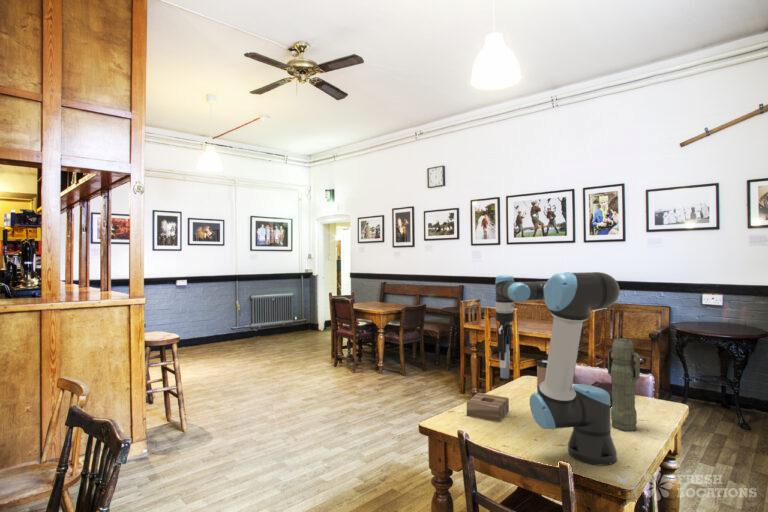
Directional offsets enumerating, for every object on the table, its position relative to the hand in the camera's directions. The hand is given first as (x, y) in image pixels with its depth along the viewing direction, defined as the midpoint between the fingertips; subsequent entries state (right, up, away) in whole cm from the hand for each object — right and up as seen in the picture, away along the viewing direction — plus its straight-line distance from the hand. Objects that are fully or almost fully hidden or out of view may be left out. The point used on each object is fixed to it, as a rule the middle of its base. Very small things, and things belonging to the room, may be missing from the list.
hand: (504, 366), depth 184 cm
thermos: (+44, -21, -13) cm, 50 cm away
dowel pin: (0, -5, 0) cm, 5 cm away
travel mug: (+23, -21, +14) cm, 34 cm away
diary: (+54, -21, +20) cm, 62 cm away
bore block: (-6, -21, +3) cm, 23 cm away
